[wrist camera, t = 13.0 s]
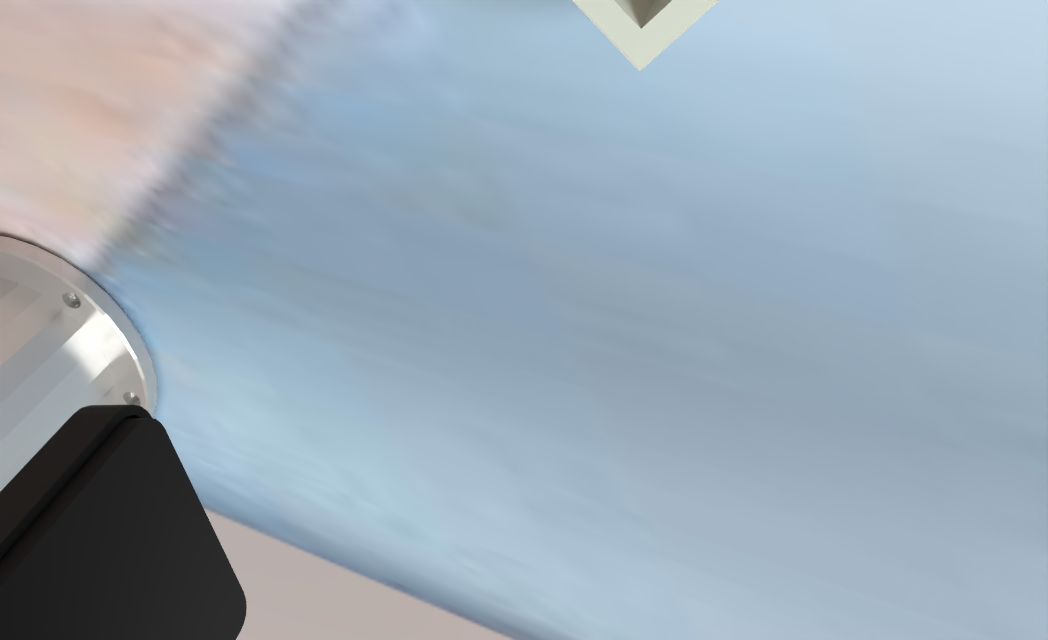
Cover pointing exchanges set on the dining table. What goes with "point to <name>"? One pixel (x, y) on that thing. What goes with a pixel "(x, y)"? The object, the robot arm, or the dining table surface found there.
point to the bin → (643, 23)
